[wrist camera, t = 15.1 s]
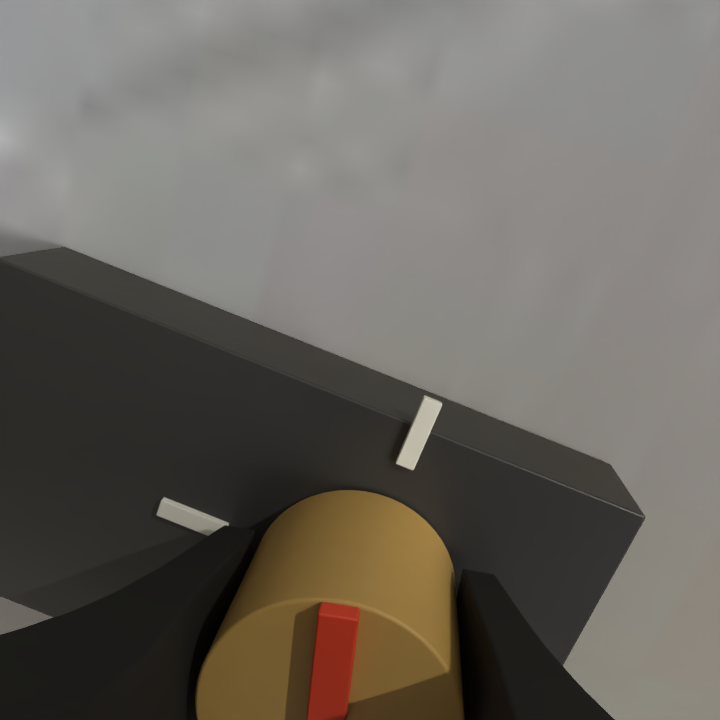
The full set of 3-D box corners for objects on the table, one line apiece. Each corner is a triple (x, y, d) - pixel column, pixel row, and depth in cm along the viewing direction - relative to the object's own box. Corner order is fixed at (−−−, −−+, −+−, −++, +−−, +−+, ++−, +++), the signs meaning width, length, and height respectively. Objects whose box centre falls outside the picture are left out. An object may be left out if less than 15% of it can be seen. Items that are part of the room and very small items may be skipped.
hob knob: (439, 684, 14) (444, 870, 10) (247, 652, 14) (180, 822, 10) (470, 505, 13) (487, 637, 9) (261, 475, 13) (193, 591, 9)
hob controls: (624, 440, 15) (665, 493, 12) (473, 725, 17) (481, 821, 14) (70, 220, 15) (-5, 226, 12) (-10, 532, 17) (-89, 593, 14)
